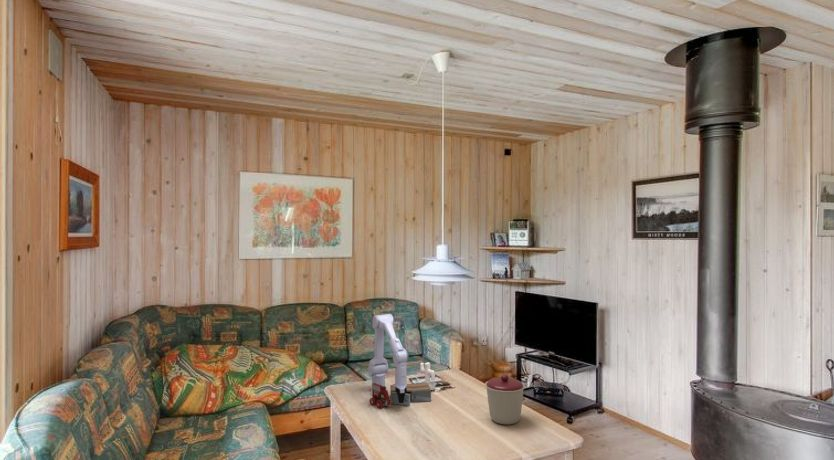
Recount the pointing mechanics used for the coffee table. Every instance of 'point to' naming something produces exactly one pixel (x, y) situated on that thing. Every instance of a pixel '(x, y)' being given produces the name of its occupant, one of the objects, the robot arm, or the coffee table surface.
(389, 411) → the coffee table surface
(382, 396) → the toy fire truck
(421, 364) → the figurine
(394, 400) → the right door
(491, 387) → the canister
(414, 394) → the cabinet
